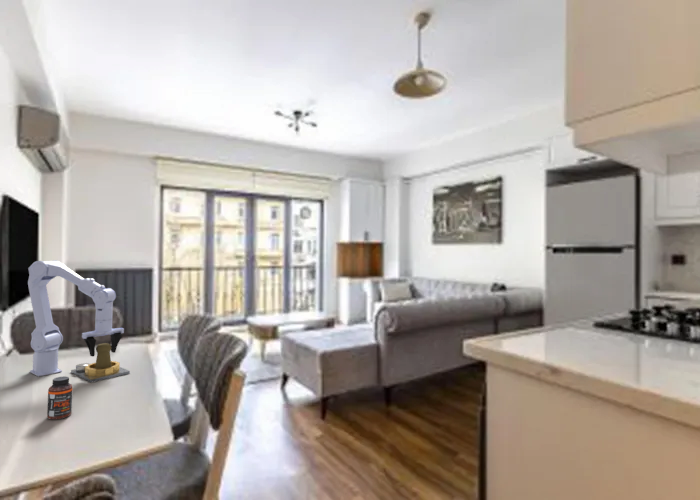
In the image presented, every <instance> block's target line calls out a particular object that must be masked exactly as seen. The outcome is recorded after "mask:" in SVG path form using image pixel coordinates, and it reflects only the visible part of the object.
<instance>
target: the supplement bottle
mask: <svg viewBox="0 0 700 500" xmlns="http://www.w3.org/2000/svg"><path fill="white" fill-rule="evenodd" d="M51 383H52V385H50V387H48V391H47V410H46V411H47V413H46V414H47V419H49V420H61V419H64V418H67V417H69V416H71V414H72V413H73V412H72V411H73V385H72V383H70V377H69V376H66V375H65V376H57V377H54V378H53V379H52V382H51Z"/></svg>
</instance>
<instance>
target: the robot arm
mask: <svg viewBox="0 0 700 500" xmlns="http://www.w3.org/2000/svg"><path fill="white" fill-rule="evenodd" d="M27 269H28V274H29V276H28V280H27V285H28V287H27V288H28V292H29V297H30V303H31V308H32V312H33V318H34V323H35V328H34V329H33V331H32V332H31V334H30V335H31V341H30V347H31V349H32V350H33V351H34V352H33V355H32V369H30V370H29V373H31V374H33V375H34V376H36V377H42V376H47V375H52V374H57V373H62V372H63V370H61V369H59V348H60V345H61V344H62V343H63V341H64V336H63V334H62V333H61V331H60V327H59V326H58V325H56V324H55V323H54V320H53V315H52V310H51V309H52V308H51V304H50V299H49V294H48V288H47V285H48V284H49V282H51V280H53V279H55V278H57V277H59V278H60V277H61V278H62V279H64V280H66V281H68V282H70V283H72V284H74V285H75V286H77V288H78V289H77V290H78V291H79V292H81V293H82V294H84V295H86V296H88V297H89V298H91V299H92V301H93V303H94V306H95V317H94V318H95V325H94V326H95V327H94V330H92V331H91V330H90V331H87V332H86V331H85V332H82V333H81V338H82V339H83V340H84V342H85V344H86V346H87V349H88V352H89V356H90V357H95V355H96V354H95V353H96V343H97V339H95V337H96V338H97V337H104V336H110V342H111V343H110V345H111V351H110V353H116V350H117V347H118V345H119V342H120V340H121V339H122V337H123V334H124V333H125V328H123V327H116V328H113V309H114V304H113V303H114V301H115V300H116V298H117V294H116V291H115V290H114V289H113V288H111V287H107V288H106V286H105V285H104V284H100V283H98V282H96V279H94V278H91V277H90V278H89V277H87V278H84V277H82V276H81V275H79V274H78V273H76V272H75V271H74V270H72V269H71V268H69V267H68V266H67V265H66V263H63V262H61V261H59V260H58V259H53V260H36V261H34V262H33V263H32V264H30V266H29V267H28V268H27Z"/></svg>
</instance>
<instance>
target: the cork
mask: <svg viewBox="0 0 700 500" xmlns="http://www.w3.org/2000/svg"><path fill="white" fill-rule="evenodd" d="M95 352H97V356H96V360H95V363H96V365H95V369H101V368H108V367H112V366H111V361H112V360H111V343H108V342H107V343H106V342H103V343H98V344H97V345H96V346H95Z"/></svg>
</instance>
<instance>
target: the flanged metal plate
mask: <svg viewBox="0 0 700 500" xmlns="http://www.w3.org/2000/svg"><path fill="white" fill-rule="evenodd" d="M95 365H96V362H92V363H89V362H88V363H87V362H86V363H85V362H84V363H79V364H76V365H75V368H74V369H71V370H70V373H71V374H73V375H75V376H77V377H79V378H81V379H82V380H85V381H87V382H89V383H93V382H98V381H103V380H107V379H111V378H116V377H120V376H125V375H129V374H131V373H130V370H129V369H126V368H124V367H121V364H120V362H119V361H116V360H115V361H114V360H111V366H112V367H108V368H101V369H95Z"/></svg>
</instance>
